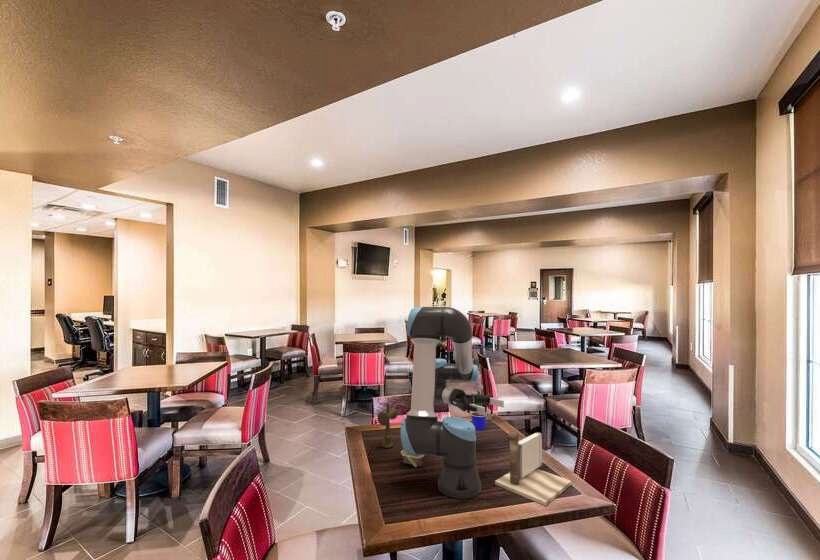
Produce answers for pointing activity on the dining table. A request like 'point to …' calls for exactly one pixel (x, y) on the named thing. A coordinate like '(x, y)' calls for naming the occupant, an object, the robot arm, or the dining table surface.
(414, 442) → the robot arm
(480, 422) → the hyacinth
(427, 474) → the dining table surface
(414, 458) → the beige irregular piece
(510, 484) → the gate frame
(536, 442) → the gate
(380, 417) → the kendama
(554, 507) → the dining table surface
